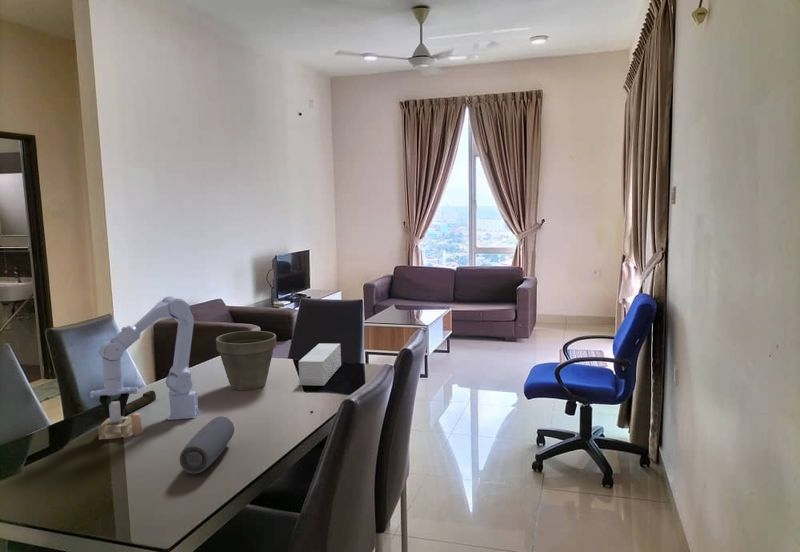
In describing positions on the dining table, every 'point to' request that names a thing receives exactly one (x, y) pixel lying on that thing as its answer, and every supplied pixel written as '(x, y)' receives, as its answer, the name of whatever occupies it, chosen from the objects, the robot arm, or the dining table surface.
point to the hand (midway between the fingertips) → (116, 415)
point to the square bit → (115, 413)
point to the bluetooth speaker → (206, 445)
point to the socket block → (115, 429)
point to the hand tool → (140, 402)
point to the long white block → (319, 364)
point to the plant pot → (246, 357)
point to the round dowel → (136, 424)
